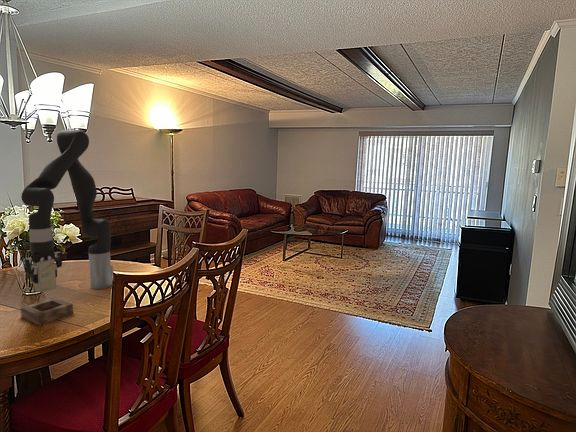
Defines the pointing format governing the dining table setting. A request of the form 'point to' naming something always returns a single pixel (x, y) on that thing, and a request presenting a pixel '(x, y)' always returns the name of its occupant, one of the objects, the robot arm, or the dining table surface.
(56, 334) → the dining table surface
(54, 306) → the grey flat hollow block
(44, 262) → the skincare box
